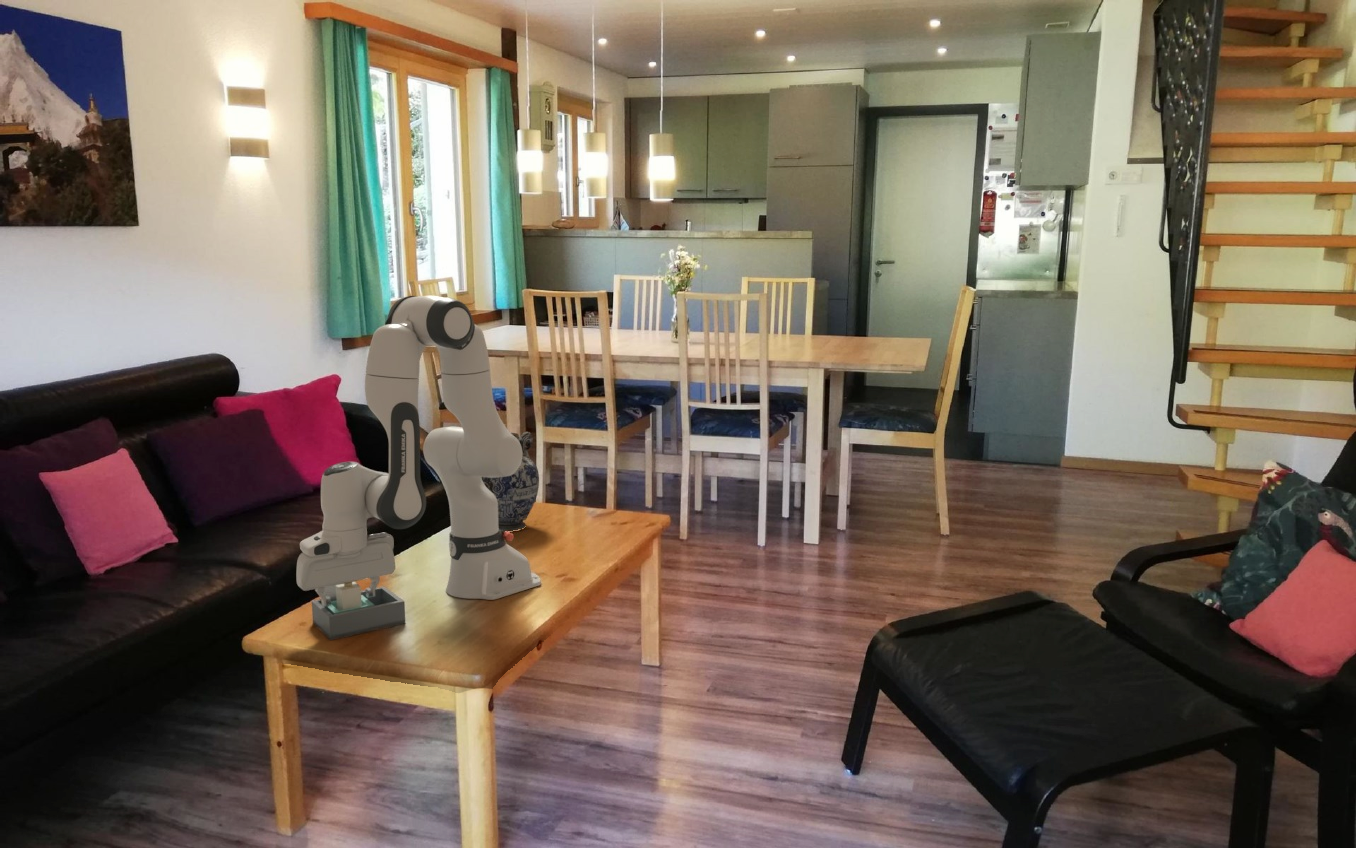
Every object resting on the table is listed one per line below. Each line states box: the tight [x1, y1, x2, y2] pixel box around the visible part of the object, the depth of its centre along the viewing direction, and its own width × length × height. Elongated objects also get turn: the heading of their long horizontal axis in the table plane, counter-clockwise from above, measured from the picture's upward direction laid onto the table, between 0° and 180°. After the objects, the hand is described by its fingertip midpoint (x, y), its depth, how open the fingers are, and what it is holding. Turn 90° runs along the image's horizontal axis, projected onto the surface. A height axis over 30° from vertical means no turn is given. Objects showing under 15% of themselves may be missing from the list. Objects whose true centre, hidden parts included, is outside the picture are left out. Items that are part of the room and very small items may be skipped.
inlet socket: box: [325, 595, 374, 615], centre depth 205 cm, size 8×8×4 cm
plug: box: [336, 581, 362, 611], centre depth 205 cm, size 4×4×9 cm
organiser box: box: [311, 585, 406, 641], centre depth 206 cm, size 16×12×5 cm
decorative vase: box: [481, 431, 540, 531], centre depth 279 cm, size 21×19×28 cm
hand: (348, 601), depth 205 cm, fingers open, 8 cm apart
